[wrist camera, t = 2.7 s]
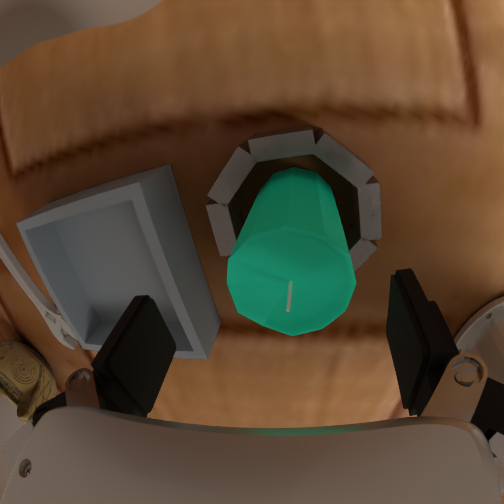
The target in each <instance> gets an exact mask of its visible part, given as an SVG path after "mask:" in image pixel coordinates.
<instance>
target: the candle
mask: <svg viewBox="0 0 504 504" xmlns="http://www.w3.org/2000/svg"><path fill="white" fill-rule="evenodd" d="M227 286H228V289H229V291H230V294H231V296H232V299H233V301H234V304H235V306H236V309H237V312H238V313H239V314H241V315H243V316H245V317H247V318H249V319H251V320H253V321H255V322H256V323H258V324H260V325H262V326H264V327H267V328H270V329H273V330H276V331H279V332H282V333H284V334H287V335H290V336H296V335H300V334H304V333H308V332H312V331H316V330H320V329H323V328H324V327H326V326H327V325H328V324H330V323H331V322H332V321H334V320H335V319H336V318H338V317H339V316H340V315H341V314H343V313H344V312H345V311H346V310H347V307H348V305H349V302H350V299H351V297H352V294H353V291H354V289H355V286H356V279H355V274H354V270H353V266H352V262H351V258H350V254H349V250H348V246H347V242H346V238H345V234H344V230H343V227H342V223H341V220H340V216H339V212H338V209H337V206H336V202H335V199H334V195H333V192H332V189H331V186H330V185H329V184H328V183H327V182H326V181H325V180H324V179H323V178H322V177H321V176H320V175H318V174H317V173H316V172H315V171H311V170H306V169H302V168H297V167H292V168H289V169H286V170H282V171H279V172H276V173H274V174H273V175H272V176H271V177H270V178H269V179H268V180H267V181H266V183H265V184H264V185H263V186H262V187H261V188H260V190H259V193H258V195H257V197H256V199H255V201H254V204H253V206H252V208H251V210H250V212H249V214H248V217H247V219H246V221H245V223H244V226H243V228H242V230H241V232H240V234H239V237H238V239H237V241H236V243H235V246H234V248H233V250H232V252H231V255H230V257H229V259H228V270H227Z"/></svg>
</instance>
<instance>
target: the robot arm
mask: <svg viewBox="0 0 504 504" xmlns="http://www.w3.org/2000/svg"><path fill="white" fill-rule="evenodd" d="M386 334H387V339H388V343H389V347H390V351H391V355H392V359H393V363H394V367H395V371H396V376H397V380H398V385H399V389H400V394H401V399H402V404H403V408H404V409H408V410H409V415H410V416H412V415H417V417H406V418H398V419H390V420H381V421H374V422H366V423H357V424H347V425H335V426H323V427H306V428H238V427H221V426H208V425H197V424H188V423H179V422H172V421H164V420H158V419H152V418H146V417H147V414H148V413H149V412H151V410H152V408H153V406H154V403H155V401H156V398H157V396H158V393H159V391H160V388H161V386H162V383H163V381H164V378H165V376H166V373H167V371H168V369H169V366H170V364H171V361H172V359H173V357H174V354H175V352H176V343H175V341H174V339H173V337H172V335H171V333H170V331H169V329H168V327H167V325H166V323H165V321H164V319H163V317H162V315H161V313H160V311H159V309H158V307H157V305H156V303H155V301H154V299H153V298H151V297H150V296H149V295H137V296H135V297H134V298H133V299H132V301H131V302H130V304H129V305H128V307H127V308H126V310H125V311H124V313H123V314H122V316H121V317H120V319H119V320H118V322H117V323H116V325H115V327H114V328H113V330H112V331H111V333H110V334H109V336H108V337H107V339H106V341H105V342H104V344H103V345H102V347H101V349H100V350H99V352H98V353H97V355H96V357H95V358H94V360H93V362H92V363H91V366H92V367H93V368H94V370H93V372H92V371H91V370H90V369H87V368H81V369H79V370H76V371H75V372H73V373H72V374H71V375H70V376H69V378H68V379H67V381H66V384H65V392H63V393H61V394H59V395H57V396H55V397H54V398H52V399H50V400H48V401H46V402H44V403H42V404H41V405H39V406H38V407H37V408H36V409H35V411H34V413H33V417H32V421H33V422H32V421H31V420H29V421H28V422H27V423H26V424H25V425H24V426H23V427H21V428H20V429H19V430H18V431H17V432H16V433H15V434H14V435H12V436H11V437H10V438H9V439H8V440H7V441H6V442H5V445H4V449H3V452H4V456H5V459H6V461H7V464H8V466H9V469H10V471H11V475H10V478H9V480H8V482H7V485H6V488H5V490H4V493H3V496H2V499H1V502H0V504H504V493H503V494H502V495H501V490H502V491H503V492H504V296H503V297H500V298H498V299H496V300H494V301H492V302H490V303H489V304H487V305H486V306H484V307H483V308H481V309H480V310H479V311H478V312H476V313H475V314H474V315H473V316H472V317H471V318H470V319H469V320H468V321H467V322H466V323H465V324H464V326H463V327H462V328H461V330H460V331H459V332H458V334H457V335H456V337H455V339H453V337H452V335H451V333H450V330H449V328H448V326H447V324H446V322H445V320H444V318H443V316H442V314H441V312H440V309H439V307H438V305H437V304H436V302H435V301H428V300H427V298H426V296H425V294H424V292H423V290H422V288H421V286H420V284H419V282H418V280H417V278H416V276H415V274H414V272H413V271H412V269H410V268H409V269H402V270H397V271H396V273H395V275H391V282H390V296H389V307H388V317H387V326H386Z"/></svg>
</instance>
